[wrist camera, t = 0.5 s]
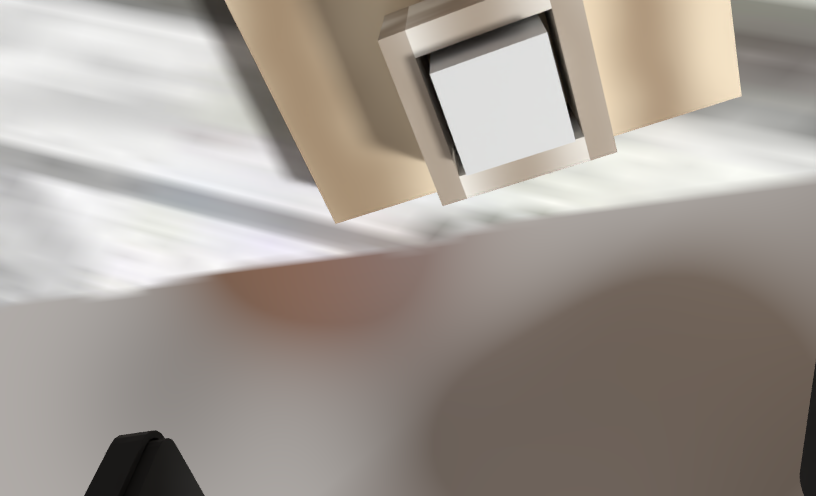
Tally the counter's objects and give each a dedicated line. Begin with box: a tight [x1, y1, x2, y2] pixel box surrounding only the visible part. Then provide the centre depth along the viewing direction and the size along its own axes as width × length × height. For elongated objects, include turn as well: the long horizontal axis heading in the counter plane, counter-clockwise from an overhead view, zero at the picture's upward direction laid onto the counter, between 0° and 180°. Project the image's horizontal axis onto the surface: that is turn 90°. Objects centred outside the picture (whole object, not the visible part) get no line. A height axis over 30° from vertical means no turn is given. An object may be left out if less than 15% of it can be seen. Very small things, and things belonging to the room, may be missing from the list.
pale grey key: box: [430, 14, 576, 176], centre depth 24 cm, size 4×4×3 cm
